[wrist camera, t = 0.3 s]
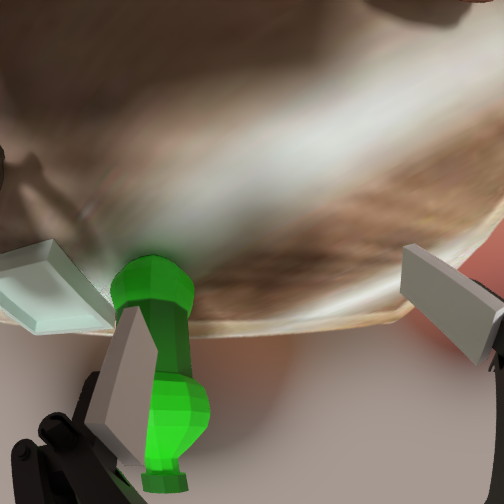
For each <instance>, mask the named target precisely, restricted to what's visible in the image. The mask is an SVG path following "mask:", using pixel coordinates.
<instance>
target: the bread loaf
mask: <svg viewBox="0 0 504 504" xmlns="http://www.w3.org/2000/svg"><path fill="white" fill-rule="evenodd" d="M460 1H467V2H474V3H479V2H480V3H485V2H490V1H493V0H460Z"/></svg>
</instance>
